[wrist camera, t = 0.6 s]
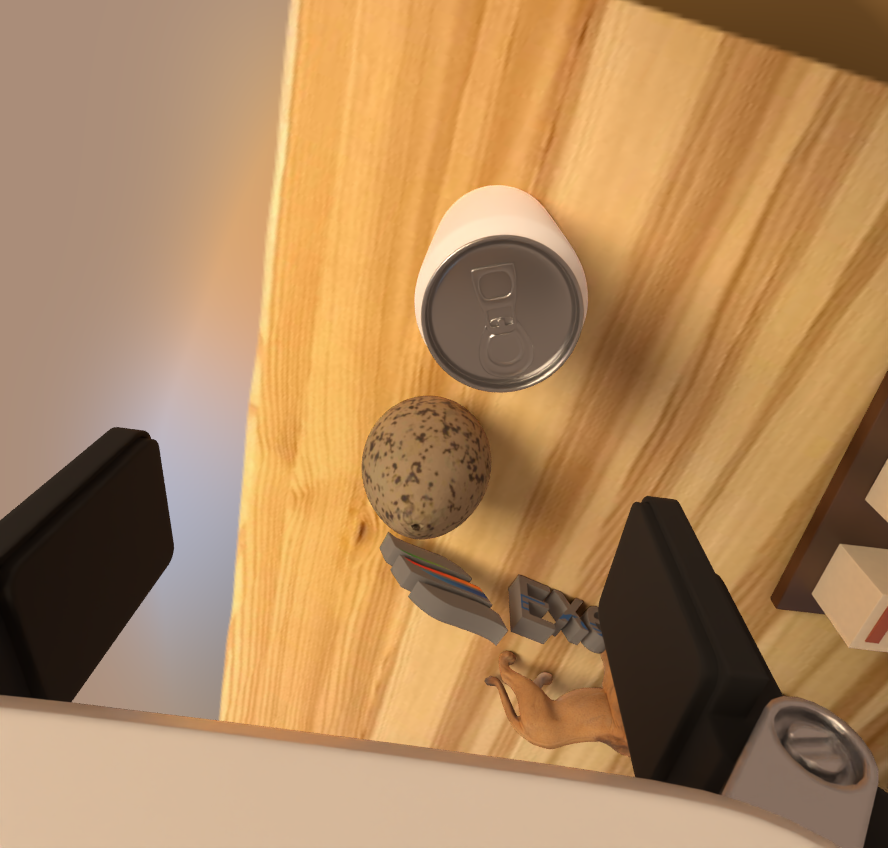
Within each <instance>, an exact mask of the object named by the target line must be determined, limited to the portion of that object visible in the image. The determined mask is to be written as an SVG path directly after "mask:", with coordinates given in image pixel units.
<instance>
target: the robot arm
mask: <svg viewBox="0 0 888 848" xmlns="http://www.w3.org/2000/svg"><path fill="white" fill-rule="evenodd" d="M173 551H174V543H173V536H172V529H171V523H170V516H169V510H168V503H167V496H166V491H165V483H164V477H163V470H162V463H161V457H160V450H159V445H158V443H157V441H156V440H154V439H151V437H150V435H149V433H147V432H146V431H143V430H135V429H127V428H119V427H116V428H115V427H114V428H112V429H110V430H109V431H107V432H106V433H105V434H104V435H103V436H101V437H100V438H99V439H98V440H97V441H95V442H94V443H93V444H92V445H91V446H89V447H88V448H87V449H86V450H85V451H83V452H82V453H81V454H80V455H79V456H77V457H76V458H75V459H74V460H73V461H71V462H70V463H69V464H68V465H67V466H65V467H64V468H63V469H62V470H60V471H59V472H58V473H57V474H56V475H54V476H53V477H52V478H51V479H50V480H48V481H47V482H46V483H45V484H44V485H42V486H41V487H40V488H39V489H38V490H36V491H35V492H34V493H33V494H32V495H30V496H29V497H28V498H27V499H26V500H25V501H23V502H22V503H21V504H20V505H18V506H17V507H16V508H15V509H13V510H12V511H11V512H10V513H9V514H7V515H6V516H5V517H4V518H3V519H1V520H0V848H888V793H886V792H885V791H884V790H882V789H881V788H880V787H878V767H877V765H876V762H875V760H874V757H873V755H872V753H871V751H870V750H869V748H868V747H867V745H866V744H865V743H864V741H863V740H862V738H861V737H860V736H859V735H858V734H857V733H856V732H855V731H854V730H853V729H852V728H851V727H850V726H849V725H848V724H847V723H846V722H845V721H843V720H842V719H841V718H839V717H838V716H836V715H835V714H834V713H832V712H831V711H829V710H828V709H826V708H824V707H822V706H820V705H818V704H816V703H814V702H811V701H808V700H805V699H802V698H798V697H787V696H783V695H782V693H781V691H780V689H779V687H778V685H777V683H776V682H775V680H774V678H773V676H772V674H771V672H770V670H769V668H768V666H767V664H766V662H765V660H764V659H763V657H762V655H761V653H760V651H759V649H758V647H757V645H756V643H755V641H754V639H753V637H752V635H751V634H750V632H749V630H748V628H747V626H746V624H745V622H744V620H743V618H742V616H741V614H740V612H739V610H738V609H737V607H736V605H735V603H734V601H733V599H732V597H731V595H730V593H729V591H728V589H727V587H726V585H725V584H724V582H723V580H722V579H721V578H720V576H719V575H717V574H716V573H715V572H714V570H713V568H712V566H711V564H710V562H709V560H708V558H707V556H706V554H705V552H704V550H703V548H702V546H701V545H700V543H699V541H698V539H697V537H696V535H695V533H694V531H693V529H692V527H691V525H690V523H689V521H688V519H687V517H686V515H685V513H684V511H683V509H682V507H681V505H680V504H679V502H678V501H677V500H674V499H667V498H659V497H651V496H646V497H645V498H644V499H643V500H642V502H641V503H640V502H635V503H634V504H633V505H632V507H631V510H630V513H629V516H628V519H627V522H626V524H625V527H624V530H623V533H622V536H621V539H620V542H619V545H618V548H617V551H616V554H615V557H614V560H613V563H612V566H611V568H610V571H609V574H608V577H607V580H606V583H605V586H604V589H603V592H602V595H601V598H600V601H599V607H598V617H599V623H600V627H601V631H602V636H603V640H604V644H605V648H606V653H607V657H608V661H609V666H610V670H611V674H612V679H613V683H614V687H615V692H616V696H617V700H618V705H619V709H620V713H621V718H622V722H623V726H624V731H625V735H626V739H627V744H628V748H629V752H630V756H631V761H632V765H633V769H634V774H635V777H630V776H623V775H617V774H610V773H604V772H597V771H591V770H584V769H578V768H571V767H564V766H558V765H551V764H543V763H536V762H529V761H521V760H514V759H506V758H499V757H492V756H484V755H477V754H469V753H462V752H455V751H447V750H440V749H432V748H425V747H418V746H410V745H403V744H395V743H387V742H380V741H372V740H364V739H357V738H349V737H341V736H334V735H326V734H318V733H311V732H303V731H295V730H287V729H280V728H272V727H264V726H256V725H249V724H241V723H233V722H225V721H217V720H209V719H201V718H193V717H185V716H177V715H168V714H161V713H152V712H144V711H136V710H128V709H120V708H112V707H104V706H96V705H88V704H80V703H72V700H73V699H74V697H75V696H76V695H77V693H78V692H79V691H80V689H81V688H82V686H83V685H84V683H85V682H86V681H87V679H88V678H89V676H90V675H91V674H92V672H93V671H94V669H95V668H96V666H97V665H98V664H99V662H100V661H101V659H102V658H103V657H104V655H105V654H106V652H107V651H108V650H109V648H110V647H111V645H112V644H113V642H114V641H115V640H116V638H117V637H118V635H119V634H120V633H121V631H122V630H123V628H124V627H125V626H126V624H127V623H128V621H129V620H130V618H131V617H132V616H133V614H134V613H135V611H136V610H137V609H138V607H139V606H140V604H141V603H142V601H143V600H144V599H145V597H146V596H147V594H148V592H150V590H151V589H152V587H153V586H154V584H155V583H156V582H157V580H158V579H159V577H160V576H161V575H162V573H163V572H164V570H165V569H166V568H167V566H168V565H169V563H170V561H171V558H172V555H173Z"/></svg>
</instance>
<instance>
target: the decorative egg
mask: <svg viewBox="0 0 888 848" xmlns="http://www.w3.org/2000/svg"><path fill="white" fill-rule="evenodd" d="M490 472H491V453H490V447H489V443H488V440H487V437H486V434H485V432H484V430H483V428H482V427H481V425H480V424H479V422H478V421H477V419H476V418H475V417H474V416H473V415H472V414H471V413H470V412H469V411H468V410H467V409H465V408H464V407H463V406H461V405H459V404H458V403H456V402H454V401H451V400H449V399H446V398H442V397H436V396H420V397H414V398H411V399H407V400H405V401H403V402H400V403H399V404H397V405H395V406H393V407H392V408H391V409H389V410H388V411H387V412H386V413H385V414H384V415H383V416H382V417H381V418H380V419H379V420H378V421H377V423H376V424H375V426H374V427H373V429H372V430H371V432H370V434H369V436H368V438H367V441H366V444H365V448H364V452H363V457H362V478H363V484H364V488H365V491H366V494H367V497H368V499H369V501H370V503H371V505H372V507H373V508H374V510H375V511H376V513H377V514H378V516H379V517H380V518H381V519H382V520H383V522H384V523H386V524H387V525H388V526H389V527H390V528H391V529H393V530H394V531H395V532H397V533H399V534H401V535H403V536H406V537H409V538H413V539H430V538H435V537H438V536H441V535H444V534H446V533H448V532H450V531H452V530H454V529H455V528H457V527H458V526H459V525H461V524H462V523H463V522H464V521H465V520H466V519H467V518H468V517H469V516H470V515H471V514H472V513H473V512H474V510H475V509H476V508H477V506H478V505H479V503H480V501H481V500H482V498H483V496H484V494H485V491H486V489H487V485H488V482H489V479H490Z"/></svg>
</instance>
